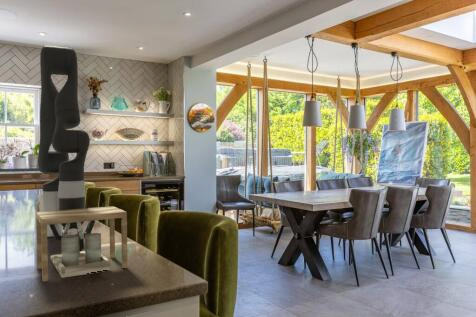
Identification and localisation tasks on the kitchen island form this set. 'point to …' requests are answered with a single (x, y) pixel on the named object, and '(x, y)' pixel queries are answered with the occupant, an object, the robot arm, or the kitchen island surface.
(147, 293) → the kitchen island surface
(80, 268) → the tray
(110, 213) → the oak shelf
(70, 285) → the kitchen island surface
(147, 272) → the kitchen island surface
